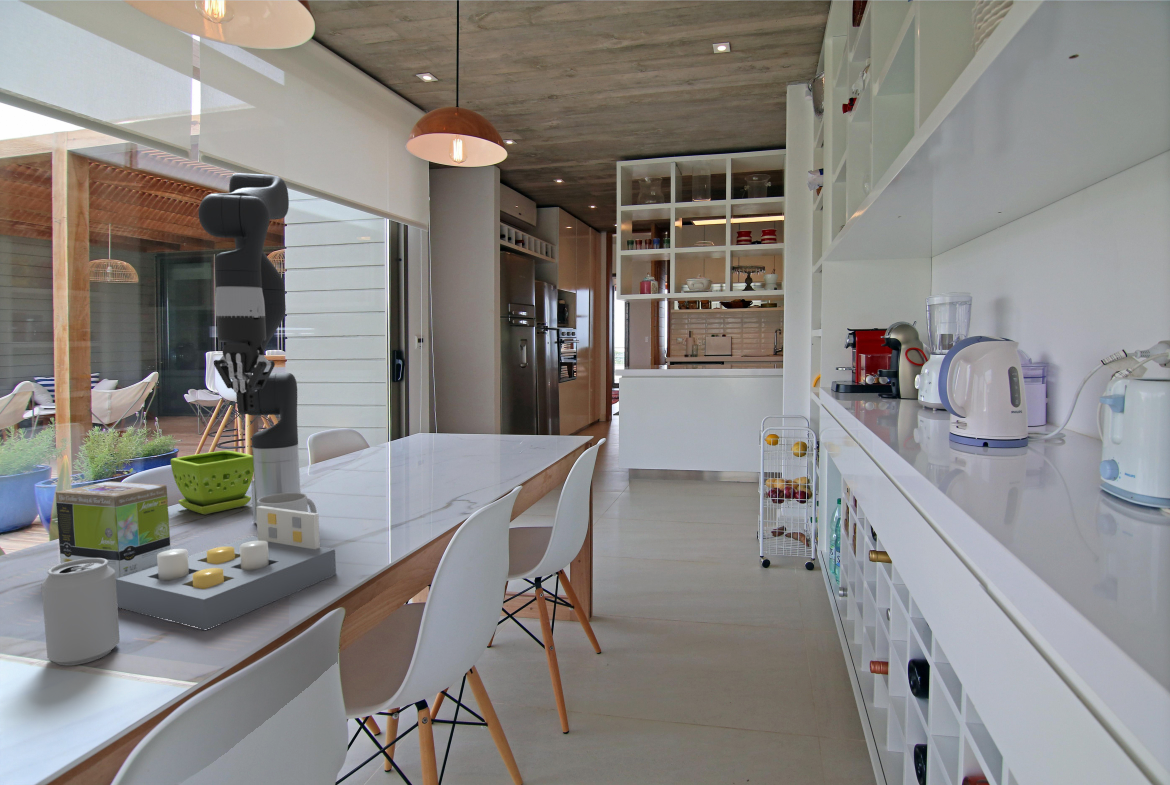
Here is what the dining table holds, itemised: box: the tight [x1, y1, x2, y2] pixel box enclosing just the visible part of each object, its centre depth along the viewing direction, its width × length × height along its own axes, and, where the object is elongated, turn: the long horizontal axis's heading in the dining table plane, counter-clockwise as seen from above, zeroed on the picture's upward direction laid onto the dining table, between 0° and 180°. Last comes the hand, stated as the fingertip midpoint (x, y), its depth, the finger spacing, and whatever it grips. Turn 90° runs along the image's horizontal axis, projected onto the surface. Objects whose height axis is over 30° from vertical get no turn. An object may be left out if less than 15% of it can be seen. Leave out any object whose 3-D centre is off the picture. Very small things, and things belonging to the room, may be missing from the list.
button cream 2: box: [240, 540, 269, 571], centre depth 106 cm, size 4×4×5 cm
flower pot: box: [170, 450, 254, 516], centre depth 160 cm, size 14×14×13 cm
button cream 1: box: [157, 548, 189, 581], centre depth 102 cm, size 4×4×5 cm
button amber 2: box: [193, 568, 224, 589], centre depth 99 cm, size 4×4×5 cm
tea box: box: [55, 481, 172, 579], centre depth 118 cm, size 15×10×15 cm, turn 71°
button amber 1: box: [207, 546, 235, 565], centre depth 110 cm, size 4×4×5 cm
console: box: [116, 506, 337, 630], centre depth 107 cm, size 20×24×10 cm
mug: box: [257, 492, 318, 514], centre depth 129 cm, size 11×10×10 cm
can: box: [41, 558, 120, 667], centre depth 85 cm, size 8×8×12 cm
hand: (246, 413), depth 116 cm, fingers closed
